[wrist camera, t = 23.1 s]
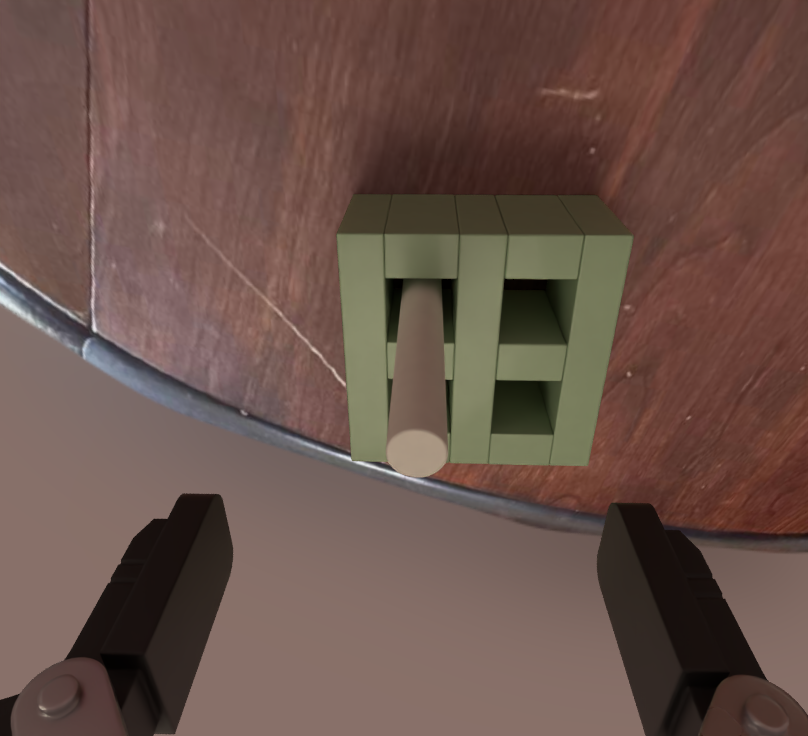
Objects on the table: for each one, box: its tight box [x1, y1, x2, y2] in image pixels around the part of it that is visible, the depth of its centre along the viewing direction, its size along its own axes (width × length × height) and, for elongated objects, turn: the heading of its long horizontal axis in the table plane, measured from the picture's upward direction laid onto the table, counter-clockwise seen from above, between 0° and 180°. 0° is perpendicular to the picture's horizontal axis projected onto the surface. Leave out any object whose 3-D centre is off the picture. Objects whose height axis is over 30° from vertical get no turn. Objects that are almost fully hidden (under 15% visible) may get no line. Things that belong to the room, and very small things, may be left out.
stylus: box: [386, 278, 448, 477], centre depth 20 cm, size 2×2×13 cm
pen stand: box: [336, 194, 634, 466], centre depth 24 cm, size 10×10×5 cm
